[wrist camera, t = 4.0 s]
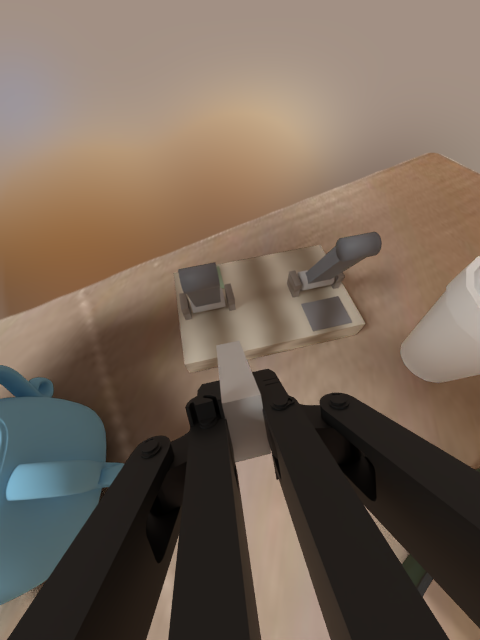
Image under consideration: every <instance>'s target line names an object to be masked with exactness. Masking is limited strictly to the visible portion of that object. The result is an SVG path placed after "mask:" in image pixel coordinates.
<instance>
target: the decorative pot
mask: <svg viewBox="0 0 480 640" xmlns="http://www.w3.org/2000/svg"><path fill="white" fill-rule="evenodd" d="M0 384H1V385H3V386H4V387H5V388H6V389H7V390H9V391H10V392H11V393H12V394H13V395H14V396H15V397H13V398H2V399H0V605H2V604H4V603H6V602H8V601H10V600H12V599H14V598H16V597H18V596H20V595H22V594H24V593H26V592H28V591H29V590H31V589H33V588H35V587H36V586H38V585H40V584H42V583H43V582H44V581H46V580H47V579H48V578H49V576H50V575H51V573H52V572H53V570H54V569H55V567H56V566H57V564H58V563H59V561H60V560H61V558H62V557H63V555H64V554H65V552H66V551H67V549H68V548H69V546H70V545H71V543H72V542H73V540H74V539H75V537H76V536H77V534H78V533H79V531H80V530H81V528H82V527H83V525H84V524H85V522H86V521H87V520H88V518H89V517H90V515H91V514H92V512H93V511H94V509H95V508H96V506H97V505H98V503H99V498H100V494H101V490H102V488H105V487H110V485H111V484H112V482H113V481H114V479H115V478H116V476H117V475H118V473H119V472H120V470H121V469H122V467H123V466H124V463H109V462H106V432H105V428H104V424H103V423H102V421H101V419H100V417H99V416H98V415H97V414H96V413H95V411H93V410H92V409H90V408H89V407H87V406H84V405H82V404H79V403H76V402H72V401H68V400H64V399H57V398H52V396H53V392H54V388H53V384H52V382H51V381H50V380H49V379H47V378H42V377H37V378H33V379H31V380H30V381H27V380H26V379H25V378H24V377H23V376H22V375H21V374H19V373H18V372H17V371H15V370H14V369H12V368H10V367H7V366H3V365H0Z"/></svg>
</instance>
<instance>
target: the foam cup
mask: <svg viewBox="0 0 480 640" xmlns="http://www.w3.org/2000/svg"><path fill="white" fill-rule="evenodd" d="M400 354H401V357H402V359H403V362H404V364H405V365H406V366H407V368H408V369H409V370H410V371H411V372H412V373H413V374H414V375H416V376H418V377H420V378H421V379H423V380H425V381H429V382H435V383H441V382H447V381H452V380H457V379H461V378H466V377H471V376H476V375H480V256H478V257H477V258H476V259H475V260H473V261H472V262H471V263H470V264H469V265H468V266H467V267H466V268H465V269H463V270H462V271H461V272H460V273H459V274H458V275H457V276H456V277H455V278H454V279H453V280H452V281H451V282H450V283H449V284H448V285H447V288H446V291H445V292H444V293H443V295H442V296H441V297H440V298H439V299H438V301H437V302H436V303H435V304H434V305H433V306H432V308H431V309H430V310H429V311H428V312H427V314H426V315H425V316H424V317H423V318H422V320H421V321H420V322H419V323H418V324H417V326H416V327H415V328H414V329H413V330H412V332H411V333H410V334H409V335H408V336H407V338H406V339H405V340H404V341H403V343H402V344H401V350H400Z"/></svg>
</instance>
